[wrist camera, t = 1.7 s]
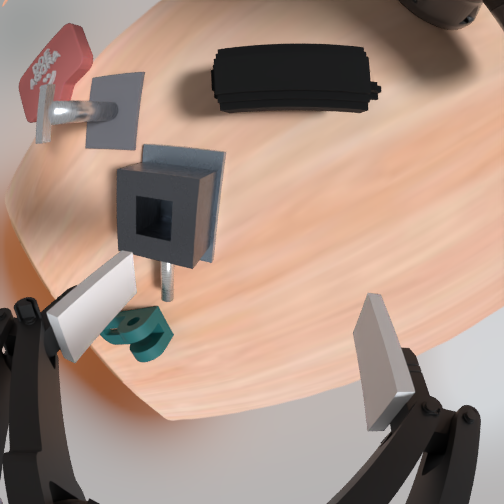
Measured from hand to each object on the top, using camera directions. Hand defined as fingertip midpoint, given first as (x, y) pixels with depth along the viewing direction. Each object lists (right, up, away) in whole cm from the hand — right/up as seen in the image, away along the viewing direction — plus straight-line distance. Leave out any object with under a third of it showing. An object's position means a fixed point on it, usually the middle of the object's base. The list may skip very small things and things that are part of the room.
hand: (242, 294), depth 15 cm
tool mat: (-21, +24, +20) cm, 37 cm away
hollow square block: (-10, +7, +26) cm, 28 cm away
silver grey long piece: (-21, +23, +19) cm, 37 cm away
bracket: (-24, -12, +37) cm, 46 cm away
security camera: (+7, +23, +16) cm, 28 cm away
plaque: (-34, +34, +19) cm, 52 cm away
